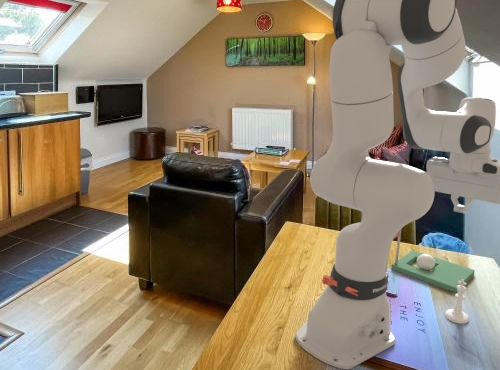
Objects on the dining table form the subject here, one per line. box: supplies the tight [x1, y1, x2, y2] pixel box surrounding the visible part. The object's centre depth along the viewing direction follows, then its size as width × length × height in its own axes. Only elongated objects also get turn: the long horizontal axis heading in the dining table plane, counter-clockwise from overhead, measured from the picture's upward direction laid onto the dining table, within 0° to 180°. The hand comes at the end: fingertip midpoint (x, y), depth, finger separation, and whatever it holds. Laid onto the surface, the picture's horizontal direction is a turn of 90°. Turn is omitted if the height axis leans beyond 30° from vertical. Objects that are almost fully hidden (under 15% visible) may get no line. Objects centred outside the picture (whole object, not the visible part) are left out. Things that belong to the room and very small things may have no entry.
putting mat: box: [391, 227, 476, 294], centre depth 109 cm, size 17×18×14 cm
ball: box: [415, 253, 435, 272], centre depth 112 cm, size 5×5×5 cm
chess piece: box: [445, 279, 469, 324], centre depth 89 cm, size 5×5×10 cm
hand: (460, 212), depth 103 cm, fingers closed
